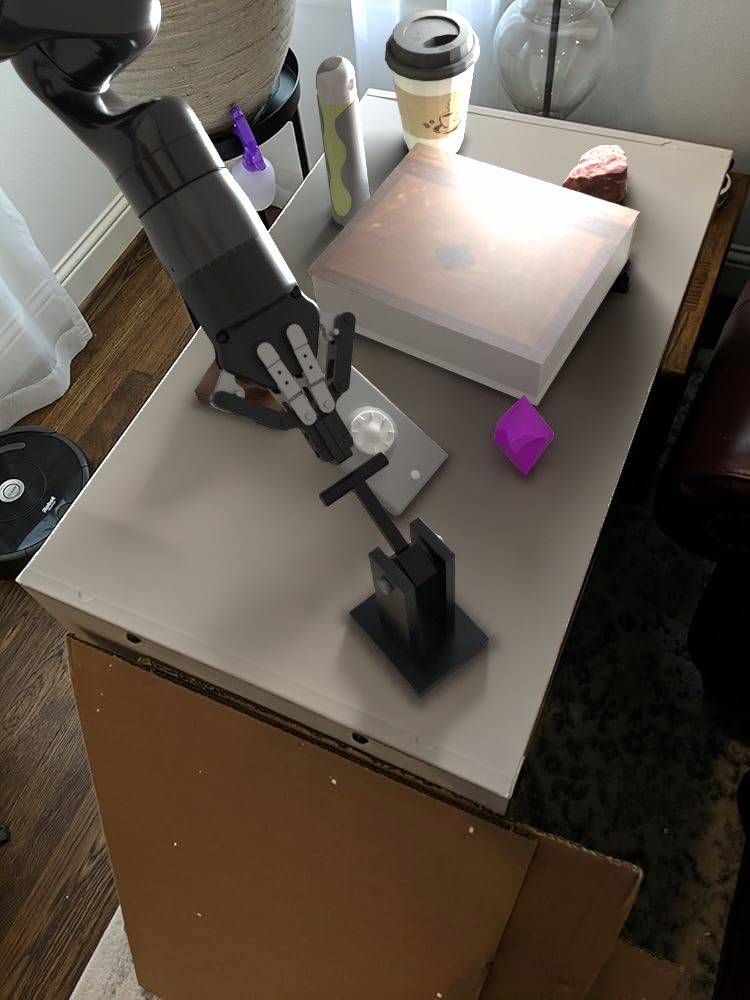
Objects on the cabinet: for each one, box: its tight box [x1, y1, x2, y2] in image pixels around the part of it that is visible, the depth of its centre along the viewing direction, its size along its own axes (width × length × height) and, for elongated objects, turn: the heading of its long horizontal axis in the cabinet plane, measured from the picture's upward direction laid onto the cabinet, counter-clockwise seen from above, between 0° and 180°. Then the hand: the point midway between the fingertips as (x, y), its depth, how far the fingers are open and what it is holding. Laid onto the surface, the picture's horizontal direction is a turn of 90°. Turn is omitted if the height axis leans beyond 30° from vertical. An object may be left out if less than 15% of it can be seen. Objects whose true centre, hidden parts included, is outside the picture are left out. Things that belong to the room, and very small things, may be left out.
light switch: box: [323, 365, 449, 517], centre depth 85 cm, size 8×6×14 cm
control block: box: [193, 358, 286, 413], centre depth 92 cm, size 8×10×4 cm
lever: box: [317, 452, 438, 587], centre depth 66 cm, size 10×6×2 cm
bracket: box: [348, 516, 490, 700], centre depth 71 cm, size 10×8×15 cm
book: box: [305, 142, 641, 407], centre depth 96 cm, size 24×28×6 cm
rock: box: [561, 144, 629, 205], centre depth 103 cm, size 11×6×8 cm
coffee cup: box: [384, 9, 481, 154], centre depth 106 cm, size 11×11×15 cm
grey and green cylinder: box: [315, 55, 371, 227], centre depth 98 cm, size 5×5×20 cm
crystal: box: [493, 395, 555, 477], centre depth 85 cm, size 5×5×5 cm
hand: (342, 459), depth 65 cm, fingers closed
